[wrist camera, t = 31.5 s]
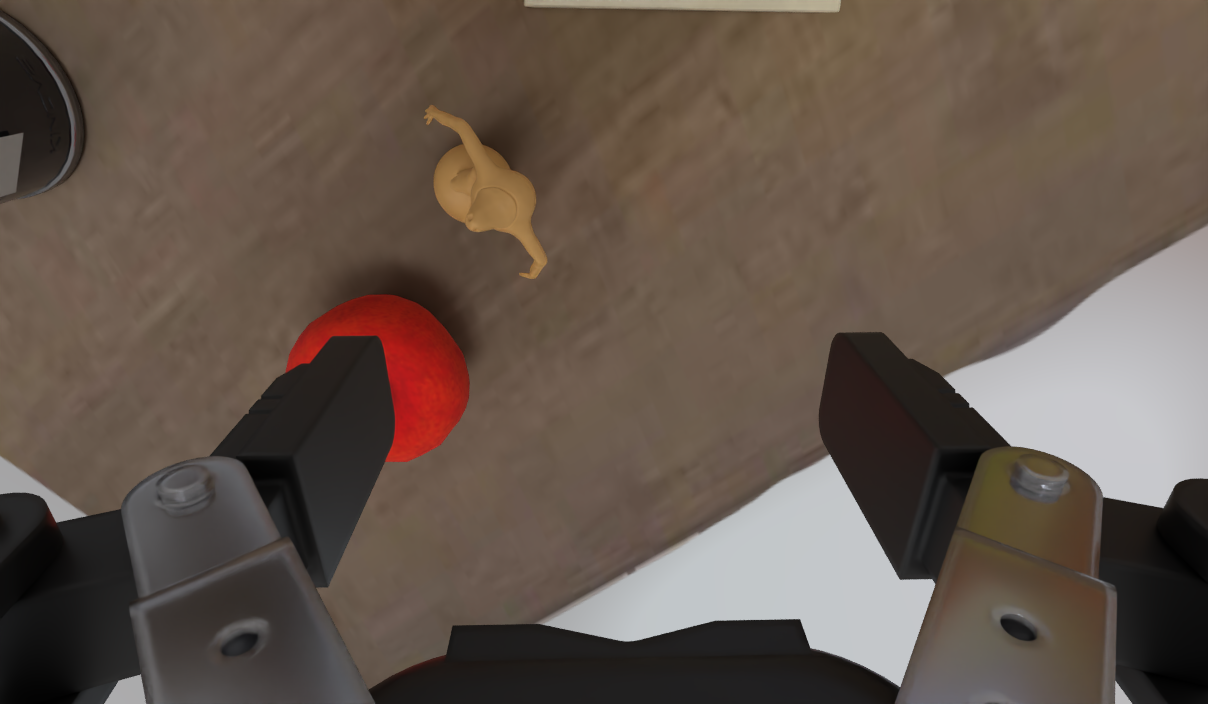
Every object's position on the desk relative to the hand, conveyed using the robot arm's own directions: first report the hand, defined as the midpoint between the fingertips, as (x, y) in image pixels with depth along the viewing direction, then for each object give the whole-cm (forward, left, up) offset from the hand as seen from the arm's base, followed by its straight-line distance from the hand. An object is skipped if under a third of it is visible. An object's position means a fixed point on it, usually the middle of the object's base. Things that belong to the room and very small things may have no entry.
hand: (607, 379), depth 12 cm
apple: (-11, -11, -25) cm, 30 cm away
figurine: (-5, -1, -25) cm, 26 cm away
